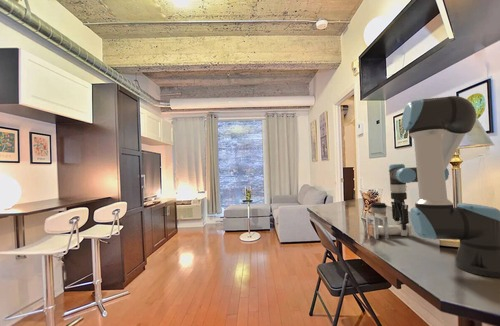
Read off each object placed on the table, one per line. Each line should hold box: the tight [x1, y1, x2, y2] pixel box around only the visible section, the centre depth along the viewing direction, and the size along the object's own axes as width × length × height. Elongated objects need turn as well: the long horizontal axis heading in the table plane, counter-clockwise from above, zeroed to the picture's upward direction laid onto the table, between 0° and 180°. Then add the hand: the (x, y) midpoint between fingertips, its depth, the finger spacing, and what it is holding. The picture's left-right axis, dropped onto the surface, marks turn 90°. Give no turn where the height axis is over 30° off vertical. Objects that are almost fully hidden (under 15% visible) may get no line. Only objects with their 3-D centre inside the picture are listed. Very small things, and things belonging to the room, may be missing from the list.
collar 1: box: [365, 212, 380, 240], centre depth 133 cm, size 12×2×12 cm, turn 174°
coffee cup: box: [369, 202, 388, 226], centre depth 148 cm, size 9×9×15 cm
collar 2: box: [375, 213, 390, 240], centre depth 132 cm, size 12×2×12 cm, turn 174°
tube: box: [368, 223, 413, 238], centre depth 132 cm, size 20×5×5 cm, turn 84°
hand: (401, 234), depth 131 cm, fingers closed on tube, 5 cm apart
